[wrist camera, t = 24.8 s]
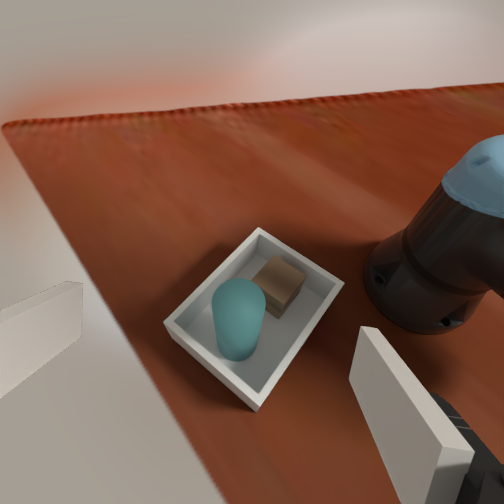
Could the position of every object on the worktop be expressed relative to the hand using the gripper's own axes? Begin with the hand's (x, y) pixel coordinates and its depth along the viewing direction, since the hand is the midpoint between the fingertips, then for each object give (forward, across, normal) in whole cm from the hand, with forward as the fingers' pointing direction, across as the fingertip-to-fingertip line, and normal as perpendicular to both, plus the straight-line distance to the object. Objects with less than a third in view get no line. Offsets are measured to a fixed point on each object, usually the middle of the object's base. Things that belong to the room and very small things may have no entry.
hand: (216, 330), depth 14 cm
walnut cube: (+27, +4, -7) cm, 28 cm away
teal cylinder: (+22, 0, -12) cm, 25 cm away
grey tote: (+25, +2, -10) cm, 27 cm away
